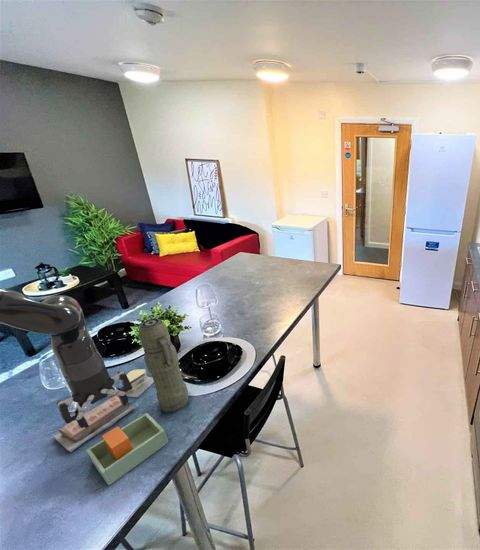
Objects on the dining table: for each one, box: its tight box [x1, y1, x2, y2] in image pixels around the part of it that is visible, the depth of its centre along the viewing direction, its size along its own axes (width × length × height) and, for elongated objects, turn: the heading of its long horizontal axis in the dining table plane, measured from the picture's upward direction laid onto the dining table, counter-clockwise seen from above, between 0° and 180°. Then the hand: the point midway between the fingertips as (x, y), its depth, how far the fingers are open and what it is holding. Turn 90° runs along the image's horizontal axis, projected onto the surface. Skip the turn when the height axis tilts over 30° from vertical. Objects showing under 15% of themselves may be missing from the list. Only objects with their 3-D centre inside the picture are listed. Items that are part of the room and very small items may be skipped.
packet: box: [101, 425, 133, 461], centre depth 85 cm, size 4×7×8 cm, turn 58°
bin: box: [85, 412, 169, 486], centre depth 88 cm, size 16×12×6 cm
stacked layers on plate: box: [121, 368, 154, 398], centre depth 111 cm, size 10×9×6 cm
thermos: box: [137, 318, 190, 413], centre depth 99 cm, size 9×12×35 cm
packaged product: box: [53, 395, 135, 453], centre depth 96 cm, size 18×5×10 cm
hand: (105, 414), depth 80 cm, fingers open, 8 cm apart
